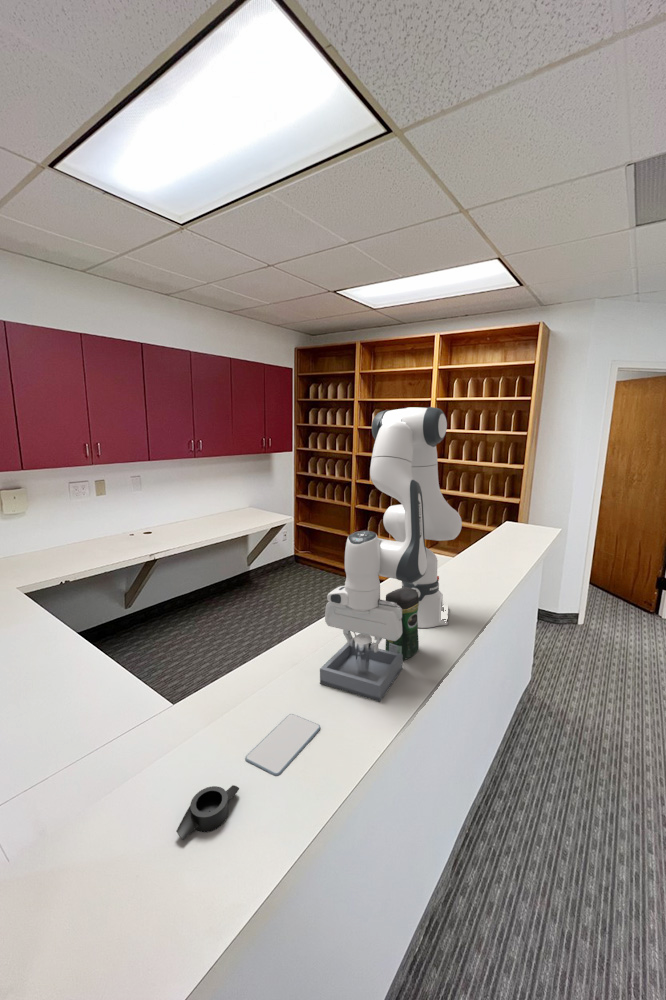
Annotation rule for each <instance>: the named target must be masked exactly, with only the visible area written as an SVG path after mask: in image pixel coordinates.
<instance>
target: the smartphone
mask: <svg viewBox="0 0 666 1000" xmlns="http://www.w3.org/2000/svg"><path fill="white" fill-rule="evenodd" d="M320 731H321V725H320V724H319V723H316V722H313V721H311V720H309V719H306V718H304V717H301V716H299V715H296V714H294V713H290V714H288V715H287V716H286V717H285V718H284V719H283V720H281V722H279V724H278V725H277V726H276V727H274V728H273V729H272V730H271V731H270V733H268V734H267V735H266V736H265V737H264V738H263V739H262V740H261V741H260V742H259V743H258V744H257V745H256V746H255V747H253V749H252V750H251V751H250V752H248V753H247V754H246V756H245V757H244V760H245V762H246V763H248V764H250V765H253V766H255V767H256V768H259V769H261V770H263V771H265V772H266V773H269V775H272V776H273V777H279V776H280V775H281V774H282V773H283V772H284V771H285V770H286V769H287V768H288V766H289V765H290V764H292V762H293V761H294V760H295V759H296V758H297V756H299V755H300V753H301V752H302V751H303V750H304V749H305V748H306V746H307V745H308V744H309V743H310V742H311V741H312V740H313V738H315V736H316V735H317V734H319V732H320Z"/></svg>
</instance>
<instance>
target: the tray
mask: <svg viewBox="0 0 666 1000" xmlns="http://www.w3.org/2000/svg"><path fill="white" fill-rule="evenodd" d="M403 661H404V660H403V654H399V653H395V652H390V651H386V650H385V649H381V648H378V651H377V652H376V653H375V652H371V656H370V669H369V670H368V671H366V672H361V671H358V669H357V666H356V653H355V645H354V646H353V647H351V646H348V645H347V642H346V643H345V644H344V645H343V646H342V647H341V648H339V650H337V652H336V653H334V654H333V655H332V656H331V657H330V658H329V659H328V660H327V661H326V662H325V663H324V664H323V665H322V666H321V667H320V668H319V684H320V685H323V686H326V687H330V688H333V689H336V690H339V691H342V692H346V693H349V694H352V695H355V696H359V697H363V698H366V699H369V700H372V701H375V702H378V703H380V702H381V701H382V699H383V698H384V696H386V694H387V692H388V691H389V689H390V688H391V687H392V685H393V684H394V682H395V680H396V679H397V677H398V676H399V675H400V673H401V671H402V670H403Z"/></svg>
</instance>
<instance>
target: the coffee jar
mask: <svg viewBox="0 0 666 1000" xmlns="http://www.w3.org/2000/svg"><path fill="white" fill-rule="evenodd" d="M385 601H389V602H395V603H397V605H399V606H400V607H401V608H402V619H401V621H402V635H401V637H400V638H399V639H398V640H397V641H391V640H387V639H385V648H384V650H386V651H390V652H395V653H399V654H403V661H404V660H407V659H409V658H412V657H413V656H414V655H416V654H417V653H418V652H419V649H420V645H419V644H420V643H419V642H420V641H419V628H418V619H417V614H418V606H419V597H418V593H417V591H416V590H415V589H411V588H408V587H403V588H402V587H401V588H397V589H394V590H392V591H390V592H388V593H386V595H385ZM396 607H397V606H396Z"/></svg>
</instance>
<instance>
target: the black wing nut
mask: <svg viewBox="0 0 666 1000" xmlns="http://www.w3.org/2000/svg"><path fill="white" fill-rule="evenodd" d="M239 790H240V787H238V786H237V785H233V784H232V785H231V786H230V787H229V788H228V789H227V790H225V788H224V787H220V786H214V785H213V786H208V787H204V788H203V789H201V790H199V791H198V792H197V793H196V794H195V795H194V796H193V797H192V798H191V801H190V803H189V807H188V808H187V810H186V811H185V814H184V816H183V817H182V819H181V821H180V822H179V825H178V827H177V829H176V833H177V835H178V836H179V838H180V839H182V840H183V841H185V840H186V839H187V837H188V836H189V835H190V834H191V833H192V832H193V831H196V832H199V833H210V832H214V831H215V830H218V829H219V828H220V827H221V826H222V825H223V824H225V822H226V820H227V818H228V816H229V801H231V799H232V798H234V797H235V796H236V794H237V793H238V792H239Z"/></svg>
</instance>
